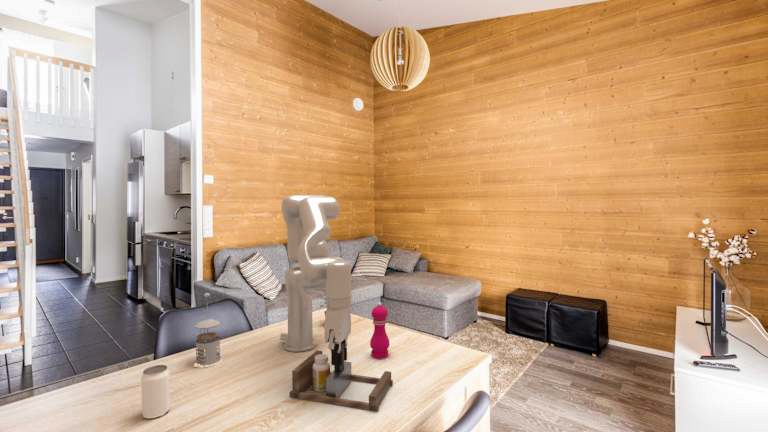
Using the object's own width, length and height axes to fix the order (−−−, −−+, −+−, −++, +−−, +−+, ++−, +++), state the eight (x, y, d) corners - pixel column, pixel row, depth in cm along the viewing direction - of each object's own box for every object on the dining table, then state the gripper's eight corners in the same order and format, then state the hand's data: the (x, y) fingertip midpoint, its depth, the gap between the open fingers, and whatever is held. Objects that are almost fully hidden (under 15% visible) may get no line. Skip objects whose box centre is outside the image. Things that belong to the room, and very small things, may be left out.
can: (150, 407, 104) (149, 364, 104) (174, 405, 105) (173, 363, 104) (137, 420, 98) (135, 375, 97) (162, 419, 98) (161, 374, 98)
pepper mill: (390, 351, 142) (390, 299, 141) (388, 359, 134) (388, 304, 134) (371, 351, 142) (371, 299, 142) (368, 359, 135) (368, 304, 134)
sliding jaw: (326, 398, 107) (325, 350, 107) (342, 379, 119) (342, 336, 118) (335, 400, 107) (335, 351, 106) (351, 380, 118) (351, 337, 118)
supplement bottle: (333, 385, 116) (333, 354, 116) (325, 393, 111) (325, 361, 111) (318, 382, 118) (317, 352, 118) (309, 390, 113) (309, 358, 112)
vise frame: (289, 397, 109) (289, 370, 109) (314, 373, 124) (314, 350, 124) (377, 411, 101) (377, 382, 101) (392, 384, 116) (392, 359, 116)
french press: (197, 371, 126) (195, 297, 125) (188, 360, 135) (186, 291, 134) (227, 362, 133) (225, 293, 132) (216, 352, 142) (215, 287, 141)
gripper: (338, 294, 121) (338, 350, 121) (314, 308, 105) (315, 373, 106) (359, 296, 119) (360, 353, 119) (339, 310, 103) (340, 376, 104)
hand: (339, 362), depth 112 cm, fingers closed on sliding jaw, 3 cm apart
